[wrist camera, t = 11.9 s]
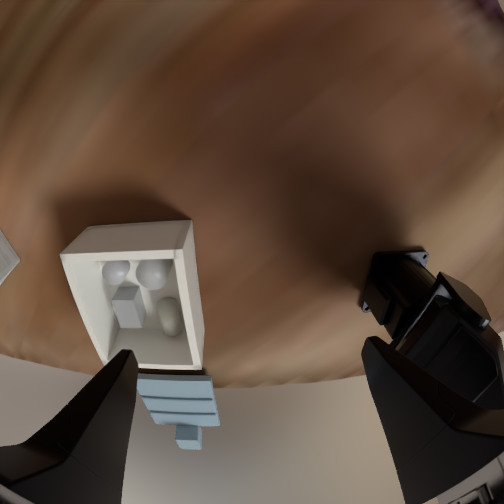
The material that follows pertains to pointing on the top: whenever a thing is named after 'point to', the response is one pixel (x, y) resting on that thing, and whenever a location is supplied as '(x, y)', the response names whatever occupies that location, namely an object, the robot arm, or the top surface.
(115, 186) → the top surface
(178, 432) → the light blue tapered piece
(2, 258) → the supplement box
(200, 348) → the tub
